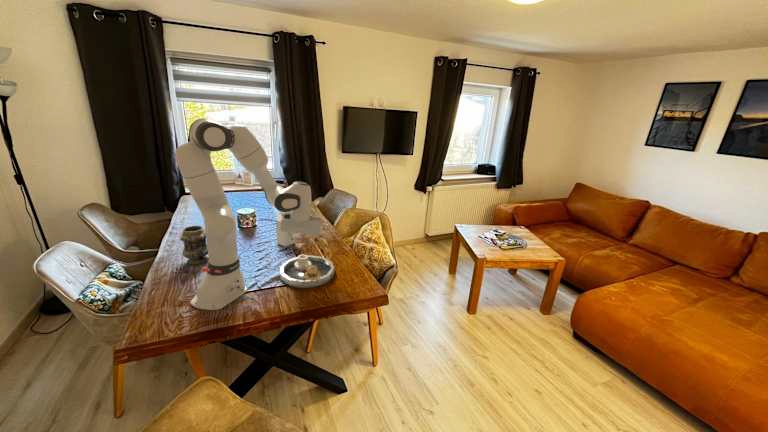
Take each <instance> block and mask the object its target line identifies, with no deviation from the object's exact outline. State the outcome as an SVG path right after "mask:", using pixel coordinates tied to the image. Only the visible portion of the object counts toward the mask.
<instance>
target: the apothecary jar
mask: <svg viewBox="0 0 768 432" xmlns="http://www.w3.org/2000/svg"><path fill="white" fill-rule="evenodd" d="M179 240H180V241H181V242H183V245H184V248H183V250H182V251H181V254H182V256H183V257H184V258H186V259H188V260H187V261H186V265H188V266H190V267H191V266H193V267H194V266H201V265H204V264H206V263H208V262H209V256H208V249H207V241H206V233H205V228H204V227H203V226H202V225H190V226H186V227H184V228H183V229H182V233H181V234H180V236H179Z"/></svg>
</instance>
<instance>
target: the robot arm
mask: <svg viewBox="0 0 768 432" xmlns="http://www.w3.org/2000/svg"><path fill="white" fill-rule="evenodd" d="M223 150H229V151H230V152H231V153H232V155H233V156H234V158H235V159H236V160H237V162H239V164H240V165H241V166H242V167H243V168H244V169H245V170H246V171H247V172H248V173H250V174H252V175H253V176H254V178H255V179H256V180H257V181H258V183H259V184H260V185H261V187H262V188H263V192H264V196H265V199H266V201H267V203H269V204H270V205H272V206H273V207H274V208H275V209H276V210H277V211H279V212H282V213H284V214H283V215H282V218H283V219H282V220H281V224H280V229H281V231H282V232H288V235H289V237H290V240H291V241H294V242H295V235H294V236H292V234H291V233H294V234H299V235H300V234H301V235H310V236H311V237H310V238H309V239H308V242H309V243H310V244H312V243H313V242H314V238H315V237H316V236H317V237H318V236H319V237H320V236H321V235H322V234H323V233H324V230H323V228H324V227H323V225H324V219H323V218H322V217H320V216H314V215H312V206H311V203H312V189H311V185H309V184H308V183H307V182H304V181H299V180H298V181H294V182H292V184H291V185H289V186H287V187H285V186H283V185H281V184H279V183H277V181H276V180H275V178H274V177H273V176H272V174H271V172H270V170H268V167H267V166H268V162H269V157H268V155H267V153H266V151H265V149H264V148H263V146H262V144H261V143H260V142H259V140H258V139H257V138H256V136H254V134H253V133H252V132H251V131H250V130H249V129H248V128H247V126H245V125H243V124H234V125H231V126H229V127H228V126H226V125H224V124H222V123H220V122H218V121H216V120H214V119H211V118H198V119H195V120H194V121H193V122H191V124H190V126H189V129H188V137H187V142H186V143H183V144H181V145H179V146H178V147H177V148H176V150H175V151H174V154H175V160H176V162H177V166H178V169H179V173H180V175H181V176H182V179H183V180H184V183H185V185H186V186H187V189H188V191H189V193H190V196H191V197H192V199H193V201H194V202H195V204H196V206H197V208H198V210H199V211H200V214H201V217H202V219H203V225H204V230H205V233H206V244H207V249H208V254H207V257H209V261H208V262H207V266H203V267H202V268H201V272H202V273H206V274H205V275H204V276H203V277H202V279H201V281H200V283H198V286H197V287H196V293H195V296H194V297H193V298H192V299H191V300H190V302H189V303H190V305H191V306H192V307H194V308H197V309H200V310H207V311H217V310H221V309H223V308H224V307H225V306H227V305H229V304H230V303H232V302H233V301H235V300H236V299H238V298H239V297H241V296H243V295H245V293H246V292H248V288H247V286H246V283H245V279H244V276H243V272H242V270H241V267H240V266H241V260H240V256H239V255H238V254H239V252H238V251H239V250H238V243H237V242H238V241H237V237H238V236H237V234H238V233H237V219H236V217H235V214H234V212H233V210H232V207H231V204H230V203H229V200H228V198H227V195H226V193H225V190H224V188H223V185H222V183H221V181H220V179H219V176H218V173H217V171H216V168H215V166H214V164H213V162H212V158H211V153H212V152H221V151H223Z"/></svg>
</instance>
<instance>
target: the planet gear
mask: <svg viewBox="0 0 768 432" xmlns="http://www.w3.org/2000/svg"><path fill="white" fill-rule="evenodd" d="M308 256H309V255H307V254H299V255H297V260H298V261H296V262H295V263H294V268H295V269H297V270H300V271H302V270H303V271H304V270H305V266H306V264H309V266H310V265H311V262H310V261H308Z"/></svg>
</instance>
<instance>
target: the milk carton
mask: <svg viewBox="0 0 768 432" xmlns="http://www.w3.org/2000/svg"><path fill="white" fill-rule="evenodd" d="M279 213H280V214H279V215H278V216H277V218H276V219H275V226H276V227H275V229H276V230H275V231H276V244H278V245H280V246H283V247H284V248H286V247H288V246H290V245H293V244H295V240H294V241H291V240H290V237H289V235H288V232H282V231H281V229H280V224H281V220H282V219H283V218H282V215H283V214H284V213H285V212H281V211H279ZM291 234H292V236H294V237H295V233H291Z"/></svg>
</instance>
